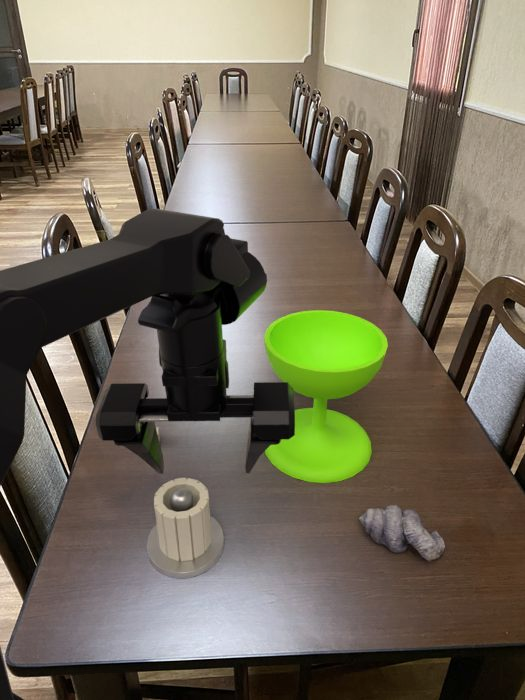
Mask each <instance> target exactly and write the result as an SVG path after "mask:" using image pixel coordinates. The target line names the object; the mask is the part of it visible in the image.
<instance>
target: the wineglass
mask: <svg viewBox="0 0 525 700" xmlns="http://www.w3.org/2000/svg"><path fill="white" fill-rule="evenodd" d="M263 339H264V346H265V354H266V357H267V359H268V362H269V364H270V366H271V369H272V370H273V372H274V374H275V375H276V376H277V377H278V378H279V380H280V381H281V382H288V383H289V384H290V385H291V386H292V387H293V392H294V393H298V394H300V395H301V396H305V397H307V398H312V399H313V404H312V405H313V406H312V407H305V408H297V409H294V410H295V435H294V436H293V437H292V438H290V439H281V442H280V443H279V444H277V445H270V446H269V447H268V448H267V449H266V450H265V451H264V454H265V456H266V457H267V459H268V460H269V462H270V463H271V464H272V465H273V466H274V467H275V468H276V469H277V470H279V471H280V472H282V473H284V474H285V475H287V476H289V477H292V478H293V479H296V480H300V481H304V482H307V483H316V484H328V483H329V484H330V483H339V482H342V481H344V480H348V479H351V478H353V477H354V476H356V475H357V474H359V473H360V472H362V471H363V470H364V469H365V468H366V467H367V465H368V464H369V462H370V460H371V456H372V453H373V450H372V449H373V448H372V442H371V439H370V437H369V434H368V433H367V431H366V430H365V429H364V428H363V426H361V424H359V422H357V421H356V420H354V419H353V418H352V417H350V416H348V415H346V414H344V413H341V412H339V411H336V410H333V409H332V410H331V409H328V400H336V399H341V398H346V397H348V396H351V395H353V394H355V393H356V392H358V391H360V390H361V389H363V388H364V387H366V386H367V385H368V384H369V383H370V382H371V381H372V380H373V379H374V378H375V376H376V375H377V373H379V371H380V369H381V368H382V365H383V363H384V360H385V357H386V355H387V354H386V353H387V350H388V347H389V343H388V339H387V336H386V335H385V333H384V332H383V331H382V330H381V328H379V327H377V326H376V324H374V323H373V322H371V321H368V320H367V319H364V318H363V317H360V316H357V315H354V314H350V313H347V312H342V311H341V312H340V311H337V310H321V309H316V310H315V309H313V310H302V311H298V312H292V313H289V314H287V315H284V316H282V317H279V318H277V319H276V320H275V321H273V322H271V323H270V324H269V325H268V327H267V328H266V330H265V332H264V338H263Z"/></svg>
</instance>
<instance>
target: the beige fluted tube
mask: <svg viewBox="0 0 525 700" xmlns="http://www.w3.org/2000/svg"><path fill="white" fill-rule="evenodd" d="M180 488H184V489H187V490H189V491H190V492H191V493H192V495H193V508H191V509H189V510H188V511H180V512H176V511H172V507H171V505H170V497H171V495H172V493H173V492H174V491H175V490H177V489H180ZM153 507H154V515H155V524H157V530H158V537H159V545H160V548H161V550H162V552H163V553H164V554H165V555H166V556H168V558H170V559H173V560H176V561H179V560H180V558H181V562H182V561H189V560H193V557H194V558H195V559H196V558H197V557H199V556H200V555H202V554H203V553H204V551H206V550H207V549H208V547H209V545H210V543H211V524H210V516H211V510H210V508H211V507H210V495H209V489H208V488H207V487H206V486H205V484H203V482H201V481H200V480H198V479H194V478H192V477H177V478H174V479H171V480H169V481H167V482H166V483H164V484H162V486H160V487H159V488H158V489H157V490H156V492H155V493H154V496H153Z"/></svg>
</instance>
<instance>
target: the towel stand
mask: <svg viewBox="0 0 525 700" xmlns="http://www.w3.org/2000/svg"><path fill="white" fill-rule="evenodd" d="M170 505H171V507H172V511H176V512H180V511H188V510H189V509H191V508H193V495H192V493H191V492H190V491H189V490H187V489H184V488H180V489H177V490H175V491H174V492H173V493H172V495H171V497H170ZM210 524H211V543H210V545H209V547H208V549H207V550H206V551H204V553H203V554H202V555H200V556H199V557H197V558H196V559H195V558H194V557H193V560H189V561H182V562H181V558H180V560H179V561H176V560H173V559H170V558H168V556H166V555H165V554H164V553H163V552H162V550H161V548H160V545H159V537H158V530H157V523H155V524H154V526H153V527H152V528H151V530H150V532H149V533H148V537H147V540H146V551H147V556H148V560H149V562H150V564H151V565H152V566H153V568H154V569H155V570H156V571H158V572H159V573H161V574H162V575H163V576H165V577H170V578H173V579H189V578H194V577H197V576H200V575H202V574H205V573H206V572H207V571H209V570H210V569H212V568H213V567H214V566H215V565H216V564H217V563H218V562H219V560H220V558H222V554H223V552H224V548H225V535H224V530H223V528H222V525H221V524H220V523H219V522H218V520H217V519H216V518H215V517H213V516H212V515H210Z"/></svg>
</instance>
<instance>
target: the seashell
mask: <svg viewBox="0 0 525 700" xmlns="http://www.w3.org/2000/svg"><path fill="white" fill-rule="evenodd" d="M359 522H360V523H361V525H362V527H363V528H364V529H365V532H366V534H368V535H370V537H371V539H372V540H373V542H375V543H376V544H377V545H384V546H386V548H387V549H388V550H389V551H390V552H392V553H394V554H399V553H403V552H405V551H407V550H408V547H409V545H411V547H413V549H415V550H416V551H417V552H418V554H420V556H421V557H422V558H423V559H424V560H426V561H427V562H432V561H433V560H436V559H438V558H440V556H441V555H442V554H444V550H445V548H446V545H445V541H444V538H443V537H442V536H441V535H439V532H438V530H434V531H432V532H431V533H430V532H429V531H428V530H427V529H426V528H425V526H424V525H423V522H422V519H421V518H420V515H419V514H418V513H417V512H416V511H415V510H413V509H405V510H402V508H400V507H399V506H398V505H397V504H390V505H387V506H385V508H379V507H376V508H374V507H373V508H372V507H370V508H367V509H366V510H365V513H363V515H361V516H360V517H359Z"/></svg>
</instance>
